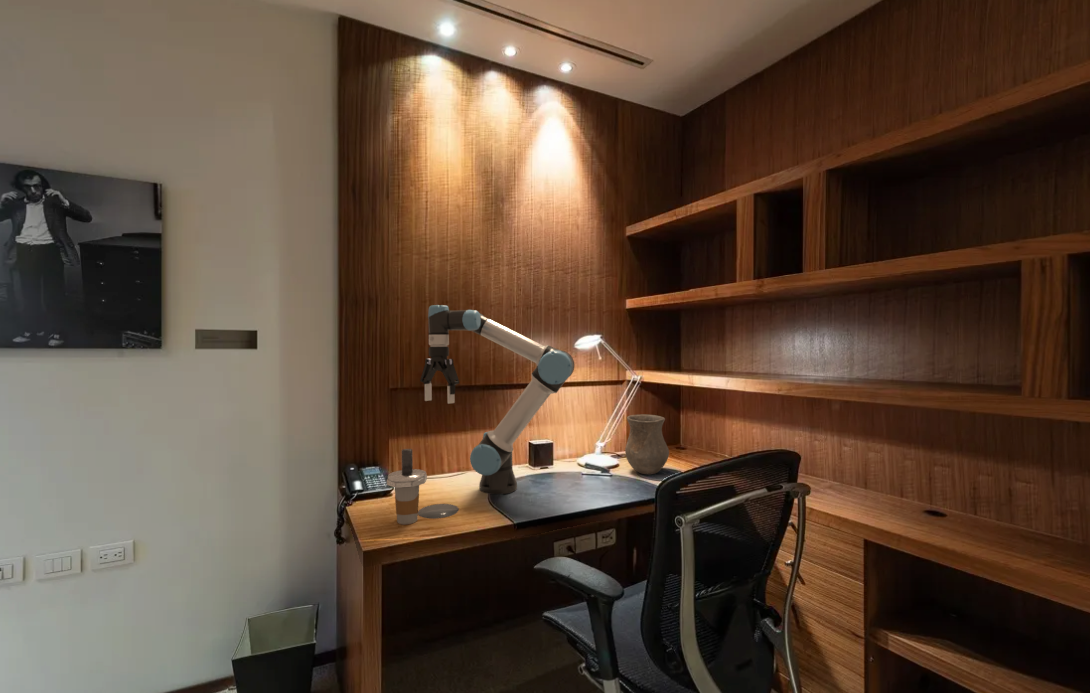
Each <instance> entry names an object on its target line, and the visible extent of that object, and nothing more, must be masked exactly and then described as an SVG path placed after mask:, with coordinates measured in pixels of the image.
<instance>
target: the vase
mask: <svg viewBox="0 0 1090 693" xmlns="http://www.w3.org/2000/svg"><path fill="white" fill-rule="evenodd" d="M626 420H627V422H628V424H629V428H630V429H629V435H628V438H627V442H626V444H625V450H624V452H625V453H624V454H625V457H626V461H627V462H628V464H629V465H630V467H631V468H632V469H633V470H634V471H636V472H637V473H639V474H641V475H654V474H657V473H659V472H660V471H661V469H663V468H664V466H665V465H666V463H667V461H668V459H669V456H670V451H669V450H670V448H668V445H667V443H666V441H665V438H664V436H663V431H662V430H663V429H662V428H663V426H664V422H665V420H666V418H665V417H663V416H660V415H657V414H656V415H655V414H631V415H628V416H627V417H626Z"/></svg>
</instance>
